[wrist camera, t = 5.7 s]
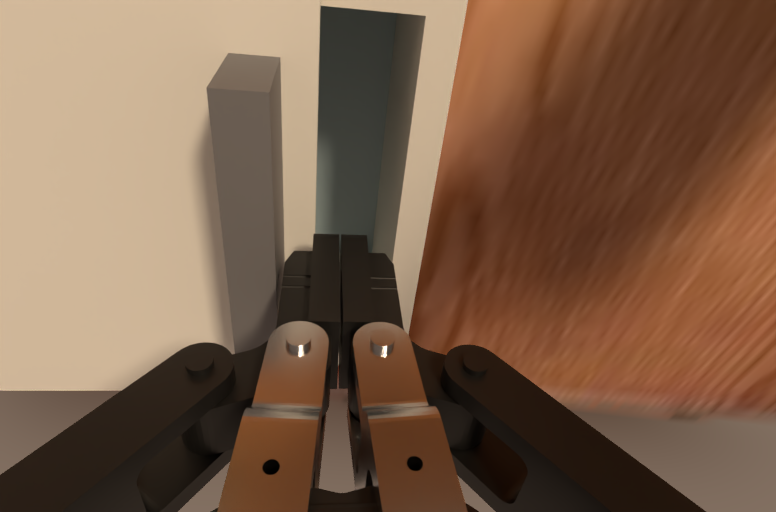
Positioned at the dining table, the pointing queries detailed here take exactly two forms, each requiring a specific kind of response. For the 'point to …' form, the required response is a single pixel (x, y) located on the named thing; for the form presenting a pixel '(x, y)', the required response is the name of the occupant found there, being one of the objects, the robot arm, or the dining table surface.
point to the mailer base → (384, 123)
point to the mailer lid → (149, 180)
